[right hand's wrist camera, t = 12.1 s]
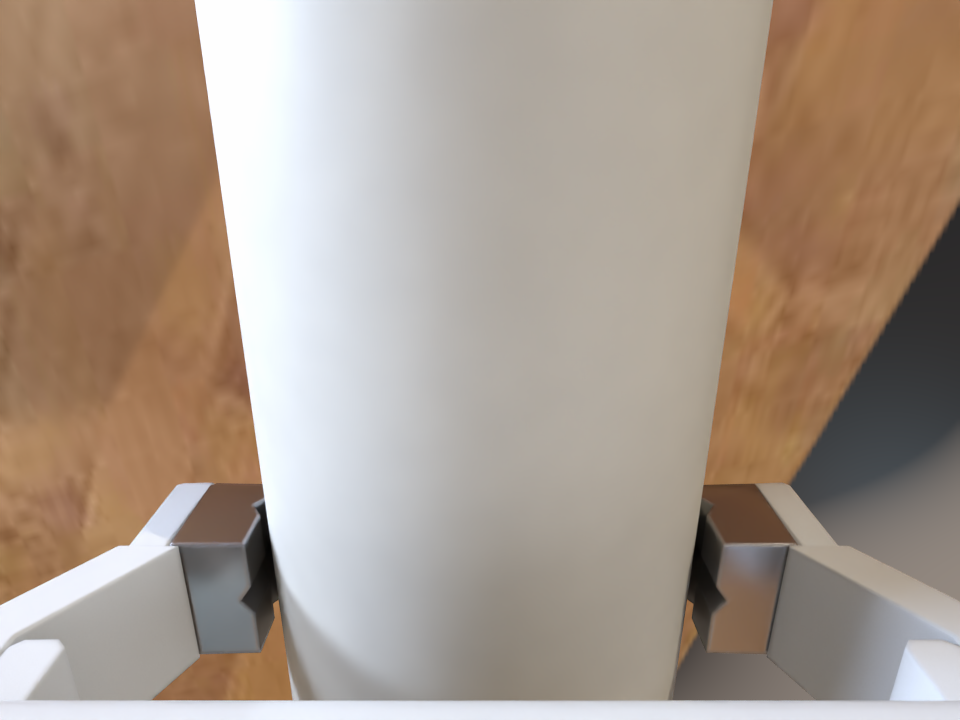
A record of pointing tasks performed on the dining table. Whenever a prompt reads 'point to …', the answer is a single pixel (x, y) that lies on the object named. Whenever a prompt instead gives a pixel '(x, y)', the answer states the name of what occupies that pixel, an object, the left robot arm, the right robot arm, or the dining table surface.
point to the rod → (483, 326)
